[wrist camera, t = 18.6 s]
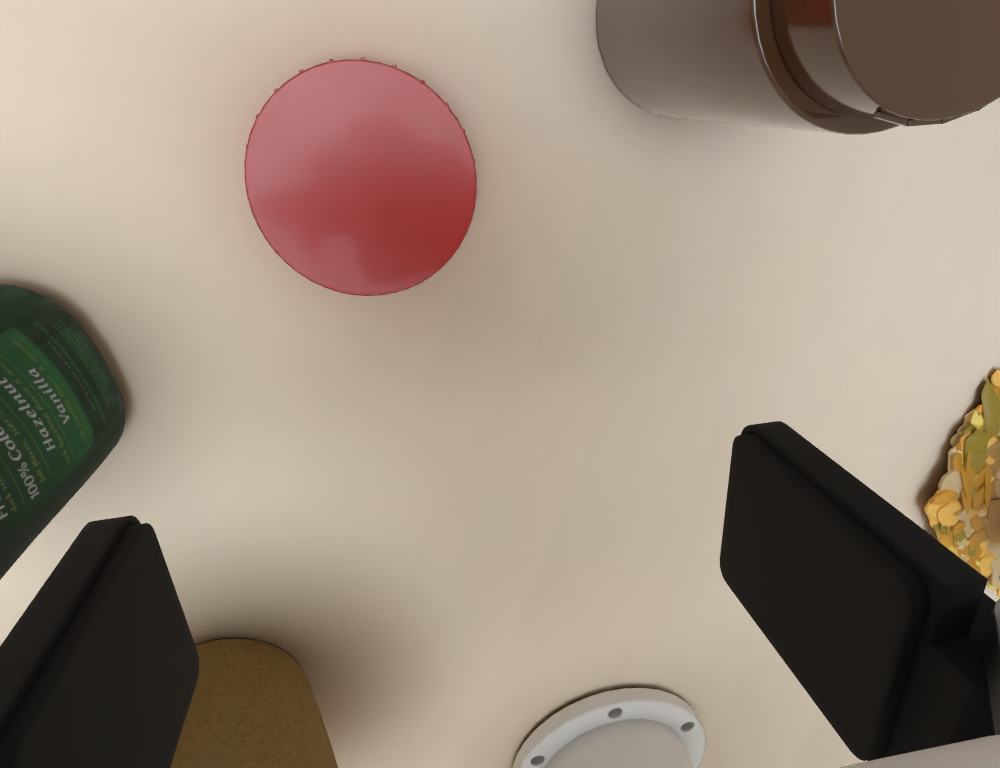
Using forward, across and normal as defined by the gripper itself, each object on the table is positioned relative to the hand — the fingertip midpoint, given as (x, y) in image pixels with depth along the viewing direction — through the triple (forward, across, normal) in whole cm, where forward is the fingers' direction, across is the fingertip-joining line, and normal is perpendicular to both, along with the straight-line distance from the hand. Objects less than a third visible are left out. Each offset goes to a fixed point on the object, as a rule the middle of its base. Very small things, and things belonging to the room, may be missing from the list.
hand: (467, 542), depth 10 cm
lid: (+14, +1, -4) cm, 15 cm away
